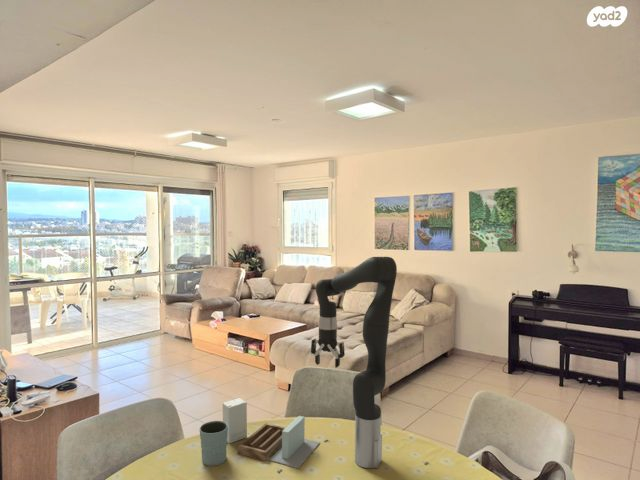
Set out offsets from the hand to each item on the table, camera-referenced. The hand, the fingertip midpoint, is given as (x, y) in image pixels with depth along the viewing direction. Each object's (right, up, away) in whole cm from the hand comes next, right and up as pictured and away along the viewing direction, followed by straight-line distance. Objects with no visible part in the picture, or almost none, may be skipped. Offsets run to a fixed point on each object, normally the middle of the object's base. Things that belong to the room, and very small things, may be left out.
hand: (327, 365), depth 171 cm
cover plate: (-13, -28, -14) cm, 34 cm away
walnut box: (-24, -28, -10) cm, 38 cm away
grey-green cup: (-42, -28, -21) cm, 55 cm away
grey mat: (-12, -28, -15) cm, 34 cm away
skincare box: (-38, -28, -5) cm, 47 cm away
